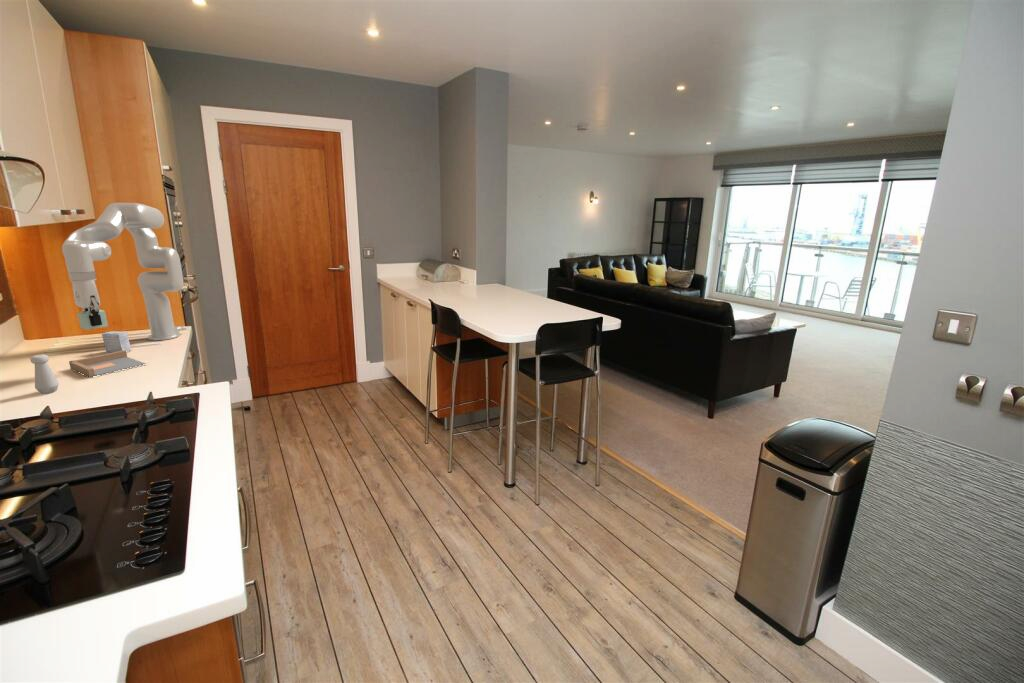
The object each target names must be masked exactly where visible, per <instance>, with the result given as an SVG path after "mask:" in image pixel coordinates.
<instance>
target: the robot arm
mask: <svg viewBox="0 0 1024 683" xmlns="http://www.w3.org/2000/svg"><path fill="white" fill-rule="evenodd" d="M164 224H165V216H164V215H163V213H162V212H161V210H160V209H158V208H156V207H152V206H150V205H146V204H143V203H138V202H112V203H110V204H109V205H107V207H106V208H105V209H104V210H103V211H102V213H101V214H100V215H99V216H98V217H97V219H96V221H94V222H92V223H89V224H87V225H85V226H83V227H81V228H78V229H76V230H75V231H73V232H71V233H70V234H69V235H68V237H67V238H66V239H65V241H64V242H63V244H62V247H61V248H62V249H61V252H62V254H63V257H64V260H65V261H64V262H65V265H66V268H67V274H68V277H69V281H70V283H71V285H72V293H73V299H74V303H75V305H76V306H77V307H78V308H81V310H82V311H81V312H87V311H89V314H90V316H89V319H90V323H91V326H98V325H102V322H101V317H100V312H99V310H100V306H101V300H100V295H99V292H98V288H97V285H96V282H95V281H97V275H96V271H95V265H94V262H98V261H99V262H100V261H105V260H108V259H109V258H110V257H111V256H112V248H111V246H110V245H109V243H106V241H111V240H114V239H116V238H118V237H119V236H120V235H121V233H122V232H123V231H124V229H126V231H128V232H129V233H130V234H131V236H132V239H133V241H134V246H135V251H136V257H137V260H138V264H139V265H140V266H141V268H145V269H166V270H148V271H143V272H141V273H140V274H139V275H138V276H137V284H138V286H139V289H140V291H141V293H142V294H141V295H142V296H143V301H144V304H145V310H146V314H147V320H148V321H147V322H148V324H149V325H148V326H149V331H150V335H148V336H147V339H148V340H149V341H166V340H172V339H175V338H176V339H177V338H178V337H180V336H181V335H180V332H181V331H186V330H187V326H185V325H183V326H176V325H175V322H174V318H173V313H172V307H171V302H170V299H169V297H168V295H166V292H168V293H169V292H179V291H181V290H182V289H183V288H184V276H183V270H182V264H181V258H180V255H179V253H178V251H177V250H176V249H174V248H173V247H168V246H164V247H163V246H159V242H158V238H157V237H158V236H157V235H156V233H155V232H154V231H153V230H152V229H161V228H162V227H163V226H164Z"/></svg>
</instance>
